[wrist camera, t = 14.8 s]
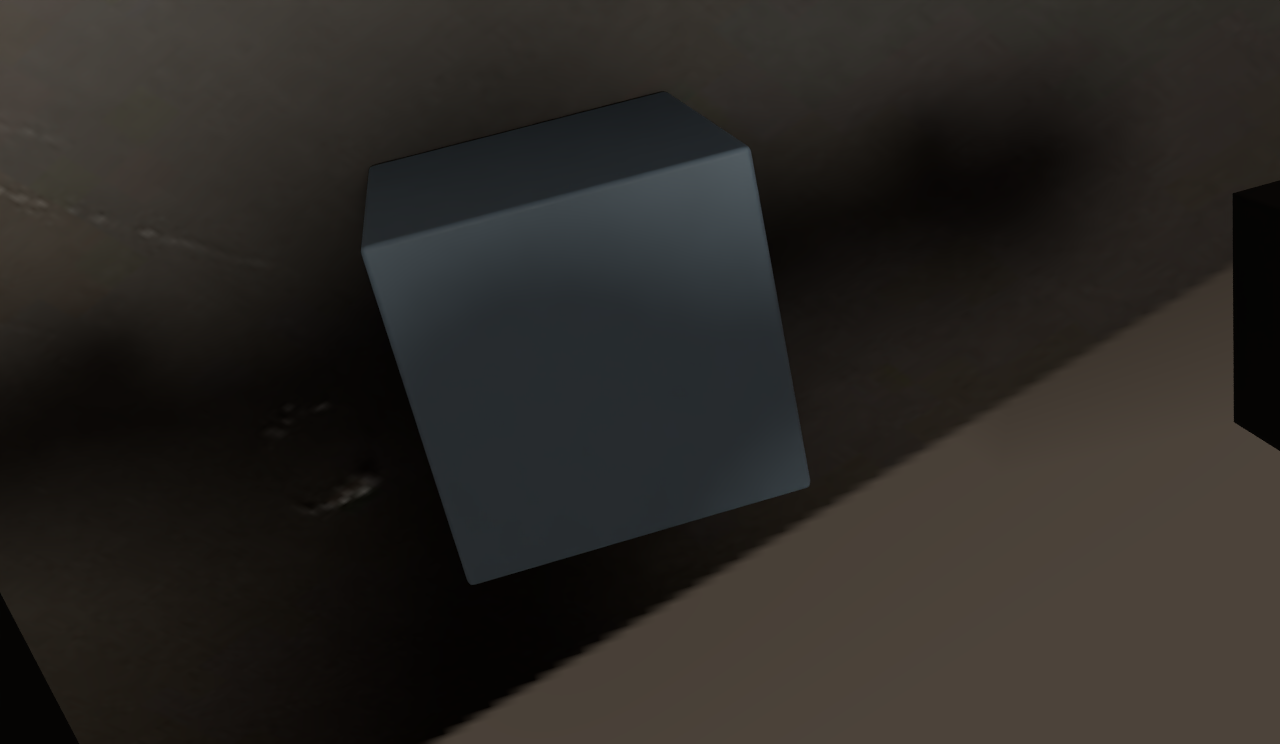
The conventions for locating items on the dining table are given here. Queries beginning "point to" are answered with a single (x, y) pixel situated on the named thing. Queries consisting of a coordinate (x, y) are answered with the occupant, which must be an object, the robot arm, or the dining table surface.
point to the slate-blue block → (585, 330)
